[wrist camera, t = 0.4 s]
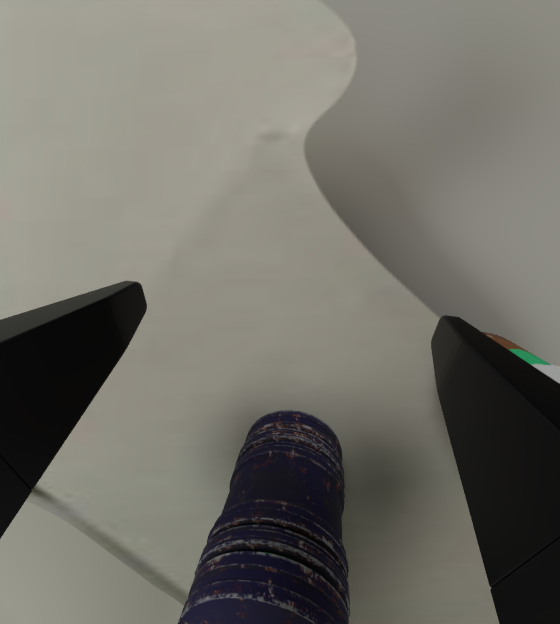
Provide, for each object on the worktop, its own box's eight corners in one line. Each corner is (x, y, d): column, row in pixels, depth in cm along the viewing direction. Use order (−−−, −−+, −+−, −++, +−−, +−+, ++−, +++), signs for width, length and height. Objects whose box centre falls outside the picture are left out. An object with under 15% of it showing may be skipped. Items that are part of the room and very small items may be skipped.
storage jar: (296, 503, 33) (269, 724, 19) (226, 447, 32) (143, 635, 18) (364, 455, 29) (395, 680, 15) (288, 390, 28) (247, 568, 14)
